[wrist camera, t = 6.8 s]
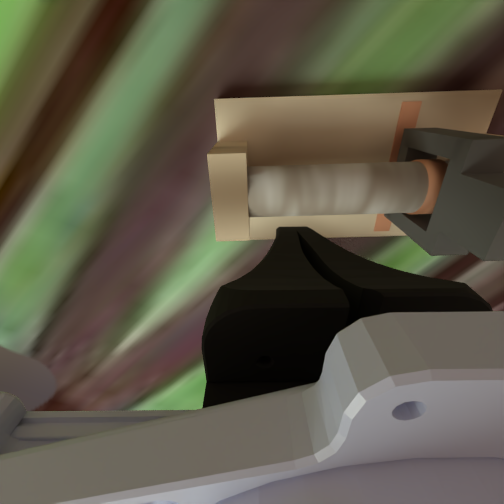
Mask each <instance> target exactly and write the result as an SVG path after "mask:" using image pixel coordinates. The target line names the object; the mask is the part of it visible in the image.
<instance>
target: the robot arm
mask: <svg viewBox="0 0 504 504" xmlns="http://www.w3.org/2000/svg"><path fill="white" fill-rule="evenodd" d="M202 354H203V360H204V367H205V373H206V380H207V383H206V389H205V396H204V402H203V408H202V409H198V410H142V411H40V412H26V409H25V407H24V405H23V403H22V402H21V400H20V399H19V398H18V397H16V396H15V395H13V394H10V393H7V392H0V504H504V311H493V310H492V308H491V306H490V304H488V303H487V302H486V301H485V300H484V299H483V298H482V297H480V296H479V295H478V294H477V293H476V292H475V291H474V290H472V289H471V288H470V287H469V286H468V285H467V284H465V283H460V282H454V281H448V280H442V279H436V278H430V277H425V276H421V275H416V274H412V273H408V272H404V271H400V270H396V269H393V268H390V267H387V266H384V265H380V264H377V263H375V262H372V261H369V260H367V259H365V258H362V257H360V256H357V255H355V254H353V253H351V252H349V251H347V250H345V249H343V248H342V247H340V246H338V245H336V244H335V243H333V242H331V241H330V240H328V239H326V238H325V237H323V236H322V235H320V234H319V233H317V232H316V231H314V230H312V229H311V228H309V227H307V226H298V227H278V228H277V229H276V238H275V240H274V242H273V245H272V246H271V248H270V250H269V252H268V253H267V255H266V256H265V257H264V259H263V260H262V261H261V262H260V263H259V264H258V265H257V266H256V267H255V268H254V269H253V270H252V271H250V272H249V273H247V274H246V275H244V276H242V277H241V278H239V279H237V280H235V281H232V282H230V283H228V284H226V285H223V286H221V287H220V289H219V291H218V292H217V294H216V296H215V298H214V300H213V303H212V305H211V307H210V310H209V313H208V315H207V318H206V322H205V326H204V331H203V335H202Z"/></svg>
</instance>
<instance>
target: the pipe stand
mask: <svg viewBox="0 0 504 504" xmlns="http://www.w3.org/2000/svg"><path fill="white" fill-rule="evenodd" d="M502 90H503V89H500V90H470V91H440V92H410V93H379V94H349V95H319V96H289V97H258V98H228V99H214V104H215V115H216V127H217V138H218V142H217V143H216V144H215V146H214V147H213V148H212V149H211V150H210V151H209V153H208V154H207V159H208V168H209V177H210V187H211V196H212V205H213V214H214V224H215V233H216V241H245V240H259V239H275V238H276V229H277V228H278V227H298V226H307V227H309V228H311V229H312V230H314V231H316V232H317V233H319V234H320V235H322V236H323V237H325V238H333V237H371V236H407V235H406V234H405V233H404V232H403V231H401V230H400V229H399V228H398V227H397V226H396V225H394V224H393V223H392V222H391V221H390V220H388V219H387V218H386V217H385V216H384V214H387V213H407V214H432V213H433V210H434V207H435V204H436V201H437V198H438V195H439V191H440V188H441V185H442V182H443V179H444V176H445V173H446V170H447V167H448V164H449V161H450V159H448V158H445V157H441V156H438V155H437V159H420V160H413V161H411V162H397V158H398V153H399V149H400V145H401V141H402V136H403V132H404V128H443V129H451V130H458V131H466V132H473V133H481V134H488V133H487V130H488V127H489V125H490V122H491V119H492V117H493V114H494V112H495V109H496V106H497V104H498V101H499V98H500V96H501V93H502ZM488 135H495V134H488ZM496 136H503V135H496ZM503 137H504V136H503ZM503 173H504V172H503Z"/></svg>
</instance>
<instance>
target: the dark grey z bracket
mask: <svg viewBox="0 0 504 504" xmlns="http://www.w3.org/2000/svg"><path fill="white" fill-rule="evenodd" d="M437 155H438V156H441V157H445V158H448V159H450V161H449V164H448V167H447V170H446V173H445V176H444V179H443V182H442V185H441V188H440V191H439V195H438V198H437V201H436V204H435V207H434V210H433V213H432V214H407V213H387V214H384V216H385V217H386V218H387V219H388V220H390V221H391V222H392V223H393V224H394V225H396V226H397V227H398V228H399V229H400V230H401V231H403V232H404V233H405V234H406V235H407V236H409V237H410V238H411V239H412V240H413V241H414V242H416V243H417V244H418V245H419V246H420V247H422V248H423V249H424V250H425V251H426V252H427V253H429V254H430V255H431V256H437V255H467V254H468V252H469V251H470V252H471V253H473V254H474V255H475V256H477V257H478V258H480V259H481V260H483V261H500V260H504V173H503V172H504V137H503V136H496V135H488V134H481V133H473V132H466V131H458V130H451V129H443V128H404V132H403V136H402V141H401V145H400V149H399V153H398V158H397V162H411V161H413V160H420V159H437Z"/></svg>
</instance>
